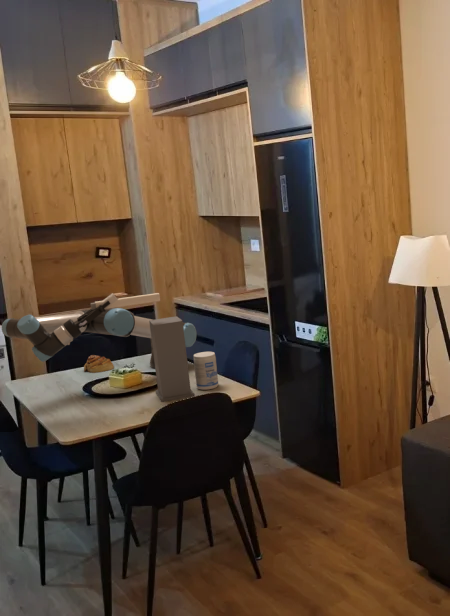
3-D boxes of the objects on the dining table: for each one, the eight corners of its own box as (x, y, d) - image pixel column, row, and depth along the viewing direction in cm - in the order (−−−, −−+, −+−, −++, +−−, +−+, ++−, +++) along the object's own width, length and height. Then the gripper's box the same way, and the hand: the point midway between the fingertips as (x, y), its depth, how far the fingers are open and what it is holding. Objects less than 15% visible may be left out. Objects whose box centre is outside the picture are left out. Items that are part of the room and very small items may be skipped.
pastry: (82, 369, 334) (80, 354, 333) (111, 364, 339) (109, 349, 337) (85, 375, 322) (83, 359, 321) (115, 369, 326) (113, 354, 325)
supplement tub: (211, 391, 273) (207, 357, 271) (192, 389, 278) (188, 356, 275) (222, 384, 281) (219, 351, 279) (204, 383, 286) (200, 350, 284)
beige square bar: (91, 309, 262) (90, 302, 261) (159, 300, 268) (158, 292, 268) (91, 310, 259) (90, 303, 258) (160, 301, 265) (159, 293, 265)
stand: (155, 392, 279) (146, 320, 274) (187, 387, 283) (178, 315, 277) (161, 401, 266) (151, 326, 260) (194, 395, 269) (185, 320, 264)
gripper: (73, 335, 268) (119, 300, 271) (75, 342, 252) (123, 306, 255) (62, 321, 266) (107, 286, 269) (62, 328, 250) (111, 291, 253)
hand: (115, 296), depth 262 cm, fingers closed on beige square bar, 3 cm apart
